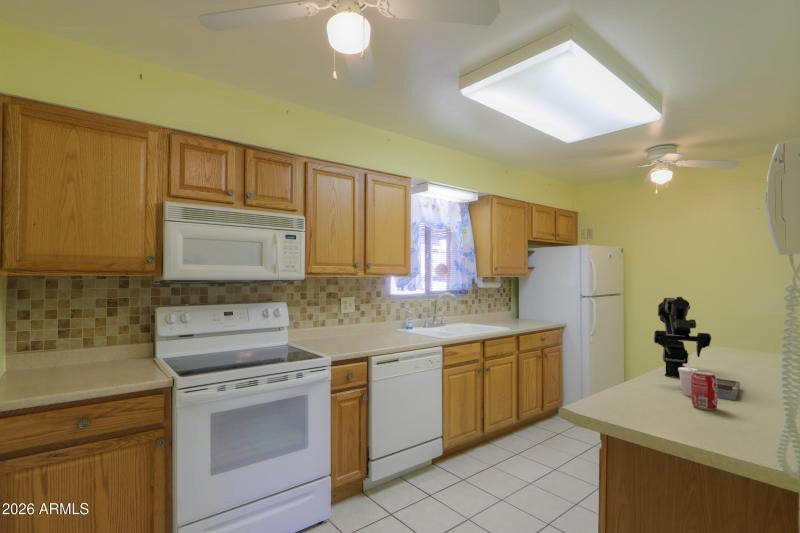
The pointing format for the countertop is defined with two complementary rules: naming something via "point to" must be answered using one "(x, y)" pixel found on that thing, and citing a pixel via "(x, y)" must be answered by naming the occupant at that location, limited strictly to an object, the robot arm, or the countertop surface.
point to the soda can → (704, 390)
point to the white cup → (686, 379)
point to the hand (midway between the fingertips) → (684, 355)
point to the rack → (727, 389)
